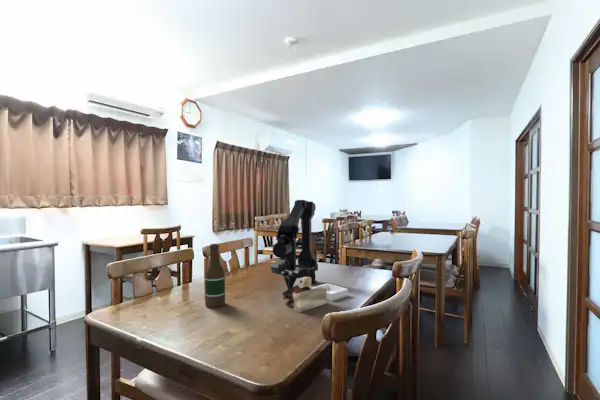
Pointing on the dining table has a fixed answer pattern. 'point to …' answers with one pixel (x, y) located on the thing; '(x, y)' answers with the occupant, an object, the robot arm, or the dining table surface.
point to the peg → (306, 282)
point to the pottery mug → (295, 289)
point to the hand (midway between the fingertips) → (289, 290)
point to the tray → (333, 292)
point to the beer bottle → (214, 280)
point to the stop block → (309, 299)
